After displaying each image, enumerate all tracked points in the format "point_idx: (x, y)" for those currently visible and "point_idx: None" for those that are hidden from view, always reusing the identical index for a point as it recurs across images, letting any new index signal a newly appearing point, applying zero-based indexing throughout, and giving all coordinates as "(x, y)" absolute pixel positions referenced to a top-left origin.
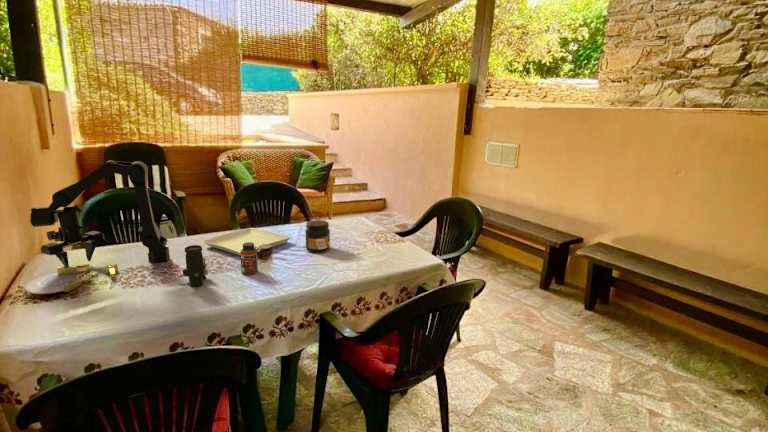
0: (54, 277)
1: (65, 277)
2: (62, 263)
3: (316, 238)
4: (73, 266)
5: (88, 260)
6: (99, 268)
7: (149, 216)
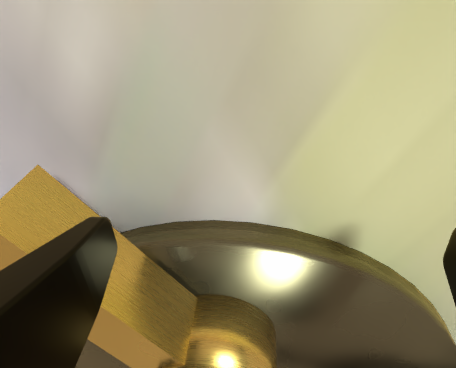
0: (5, 111)
1: (96, 206)
2: (12, 264)
3: None
4: (142, 341)
5: (450, 252)
6: (426, 261)
7: None
